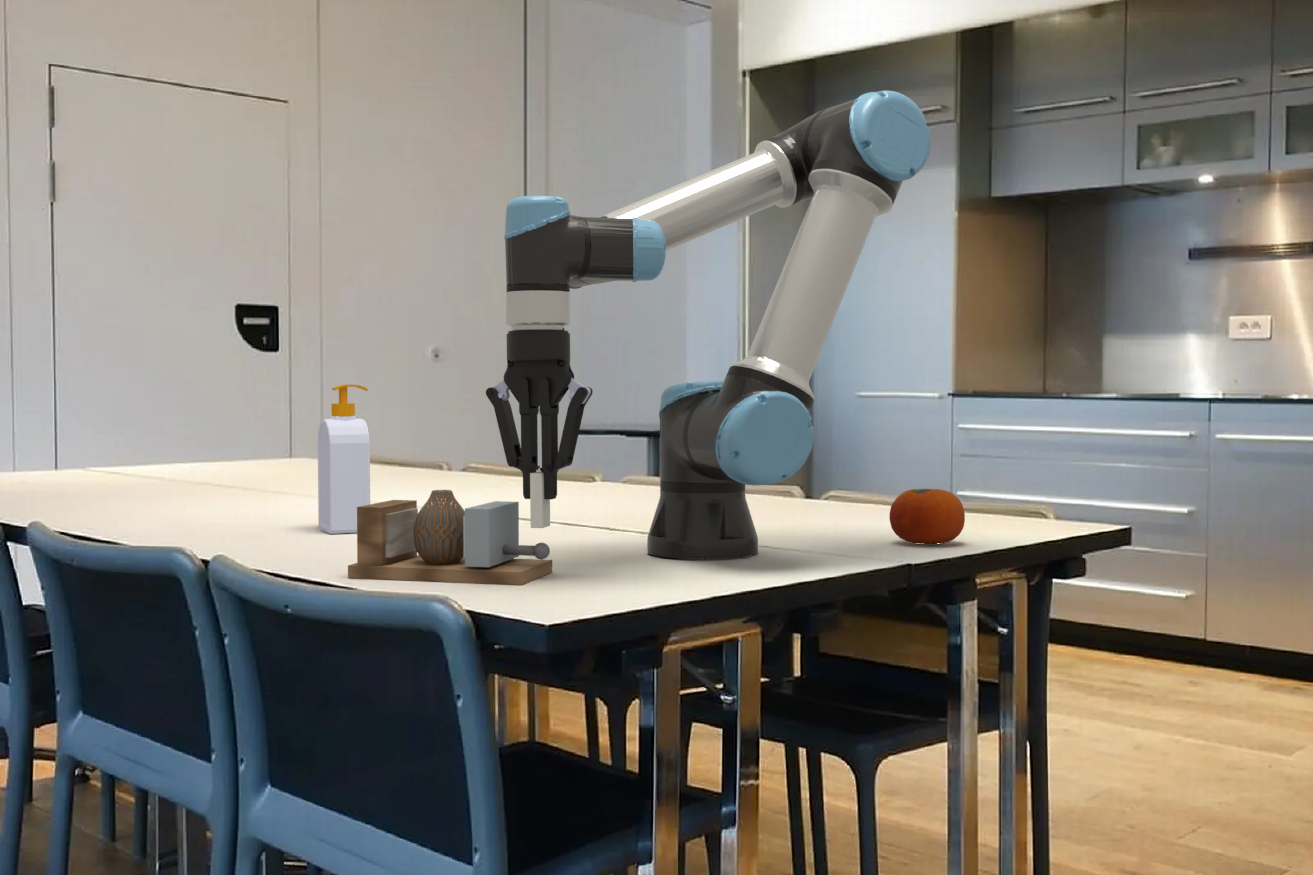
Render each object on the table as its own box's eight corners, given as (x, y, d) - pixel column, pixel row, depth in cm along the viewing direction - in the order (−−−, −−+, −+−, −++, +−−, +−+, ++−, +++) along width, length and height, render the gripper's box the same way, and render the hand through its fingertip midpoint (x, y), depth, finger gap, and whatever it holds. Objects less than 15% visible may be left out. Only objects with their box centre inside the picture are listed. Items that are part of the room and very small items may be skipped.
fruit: (940, 538, 205) (941, 485, 205) (977, 547, 195) (978, 491, 195) (876, 541, 202) (877, 487, 202) (911, 550, 192) (911, 493, 192)
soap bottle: (375, 532, 212) (374, 384, 211) (330, 534, 209) (329, 384, 208) (361, 527, 220) (360, 384, 220) (318, 529, 217) (316, 384, 216)
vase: (416, 558, 170) (415, 488, 170) (472, 558, 171) (471, 488, 170) (410, 566, 163) (410, 492, 163) (469, 565, 164) (469, 492, 163)
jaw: (562, 558, 168) (562, 502, 168) (535, 569, 159) (535, 510, 158) (491, 555, 171) (491, 501, 170) (460, 566, 161) (460, 508, 161)
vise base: (552, 572, 169) (552, 503, 169) (521, 585, 158) (521, 511, 158) (388, 565, 175) (387, 499, 174) (347, 577, 164) (347, 507, 164)
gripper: (600, 328, 164) (602, 524, 166) (498, 330, 168) (501, 522, 169) (580, 326, 157) (582, 531, 158) (474, 328, 161) (477, 529, 162)
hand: (540, 526), depth 164 cm, fingers closed
